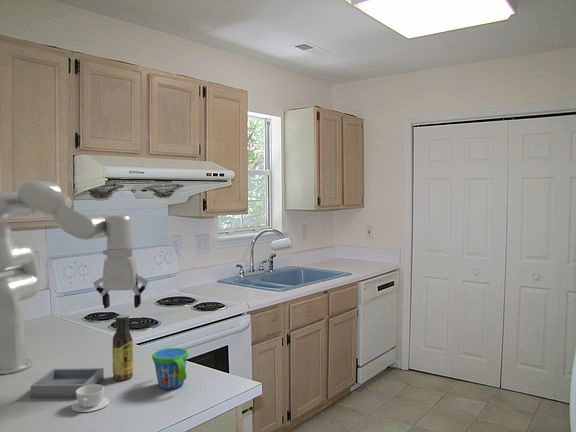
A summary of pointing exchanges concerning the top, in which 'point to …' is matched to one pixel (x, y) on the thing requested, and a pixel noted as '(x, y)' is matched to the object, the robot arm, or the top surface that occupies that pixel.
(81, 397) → the teacup
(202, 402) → the top surface
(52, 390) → the tray
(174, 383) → the snack cup
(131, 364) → the sauce bottle
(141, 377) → the top surface
